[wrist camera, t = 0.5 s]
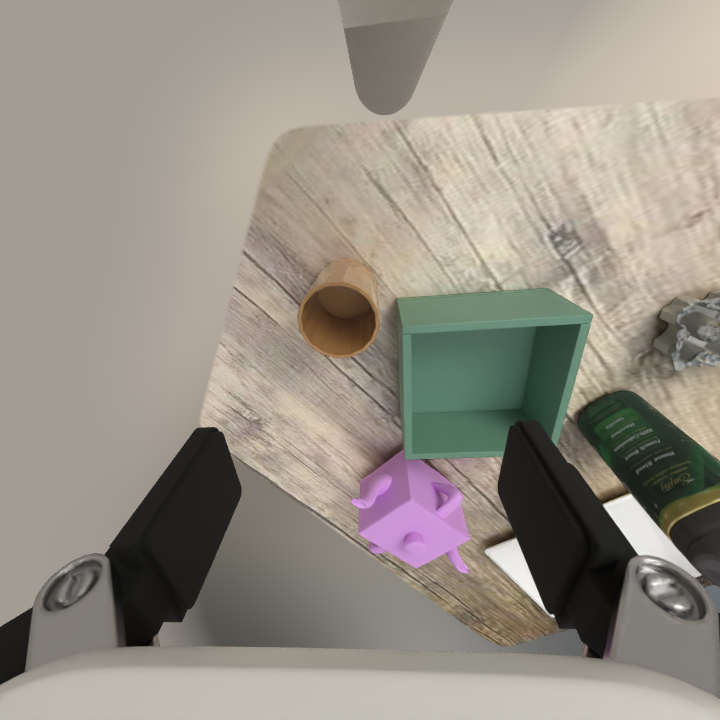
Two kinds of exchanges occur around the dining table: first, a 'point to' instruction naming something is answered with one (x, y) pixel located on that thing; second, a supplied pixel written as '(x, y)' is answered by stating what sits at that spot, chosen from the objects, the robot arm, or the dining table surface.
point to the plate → (629, 521)
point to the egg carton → (691, 331)
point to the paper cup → (341, 310)
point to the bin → (485, 368)
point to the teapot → (412, 513)
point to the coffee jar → (661, 473)
